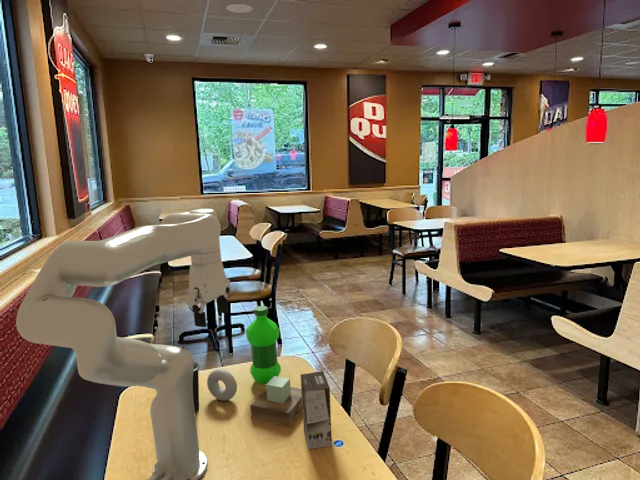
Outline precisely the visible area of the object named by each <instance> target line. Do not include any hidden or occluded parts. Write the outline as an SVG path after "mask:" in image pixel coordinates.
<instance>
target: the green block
mask: <svg viewBox="0 0 640 480" xmlns="http://www.w3.org/2000/svg"><path fill="white" fill-rule="evenodd" d="M265 387H266V388H265V389H266V390H267V400H268V401H272V402H277V403H282V404H283V403H284V402H285V401H286V399H287V398H288V397H289V396H290V395H291V389H290V387H291V379H290V378H288V377H282V376H274V377H273V378H272V379H271V380H270V381H269V382H268V383H267V384H266V385H265Z"/></svg>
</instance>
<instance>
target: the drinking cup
mask: <svg viewBox="0 0 640 480" xmlns="http://www.w3.org/2000/svg"><path fill="white" fill-rule="evenodd" d="M181 348H183V349H185V346H181ZM199 368H200V365H199V363H198V362H196V361H194V372H193V401H194V409H195V414H197V413H198V412H199V409H200V392H199V390H200V389H199V388H200V384H199V380H200V379H199Z"/></svg>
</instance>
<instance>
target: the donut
mask: <svg viewBox="0 0 640 480" xmlns="http://www.w3.org/2000/svg"><path fill="white" fill-rule="evenodd" d="M219 381H220V382H222V384H224V386H225V388H223V387H221V386H220V384H219ZM206 383H207V389H208V391H209V393H210V394H211V396H213V397H214V398H216V400H219V401H225V402H227V401H230V400H231V399H233V398H234V397H235V395H236V393H237V389H238V384H237V381H236V378H235V377H234V375H233V374H232V373H231V372H230V371H228V370H227V369H224V368H216V369H214V370H212V371H211V372H210V373H209V375H208V376H207V381H206Z"/></svg>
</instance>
